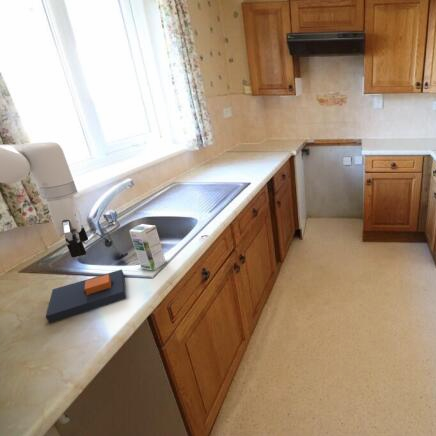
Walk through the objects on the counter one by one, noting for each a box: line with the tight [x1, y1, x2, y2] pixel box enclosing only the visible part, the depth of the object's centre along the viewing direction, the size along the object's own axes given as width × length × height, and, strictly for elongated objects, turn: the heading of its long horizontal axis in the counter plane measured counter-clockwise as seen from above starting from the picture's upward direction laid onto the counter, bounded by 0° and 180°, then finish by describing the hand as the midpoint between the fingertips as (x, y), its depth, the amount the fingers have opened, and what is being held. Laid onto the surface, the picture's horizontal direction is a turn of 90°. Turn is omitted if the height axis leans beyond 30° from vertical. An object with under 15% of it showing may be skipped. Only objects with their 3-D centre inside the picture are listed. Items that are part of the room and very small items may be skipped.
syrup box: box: [128, 223, 167, 271], centre depth 107 cm, size 6×6×14 cm
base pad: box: [45, 268, 127, 324], centre depth 95 cm, size 18×14×2 cm
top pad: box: [84, 273, 111, 295], centre depth 96 cm, size 6×5×4 cm
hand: (80, 248), depth 90 cm, fingers open, 9 cm apart
